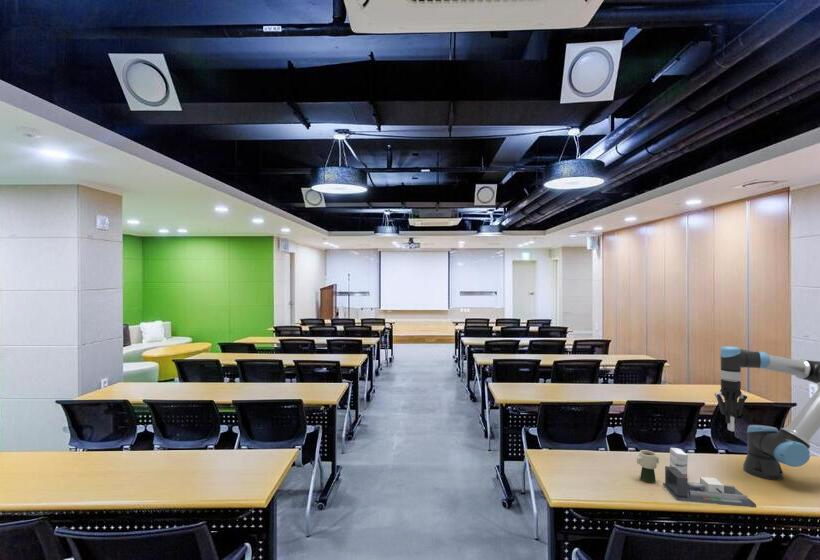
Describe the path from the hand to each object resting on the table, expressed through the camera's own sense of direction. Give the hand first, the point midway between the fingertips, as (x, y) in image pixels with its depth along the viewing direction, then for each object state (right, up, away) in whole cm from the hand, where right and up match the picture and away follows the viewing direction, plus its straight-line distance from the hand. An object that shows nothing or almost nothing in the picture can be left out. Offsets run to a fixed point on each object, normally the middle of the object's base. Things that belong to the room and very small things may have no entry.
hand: (730, 430), depth 197 cm
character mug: (-39, -24, +1) cm, 46 cm away
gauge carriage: (-22, -22, -15) cm, 35 cm away
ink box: (-20, -25, +7) cm, 33 cm away
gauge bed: (-21, -24, -13) cm, 34 cm away
